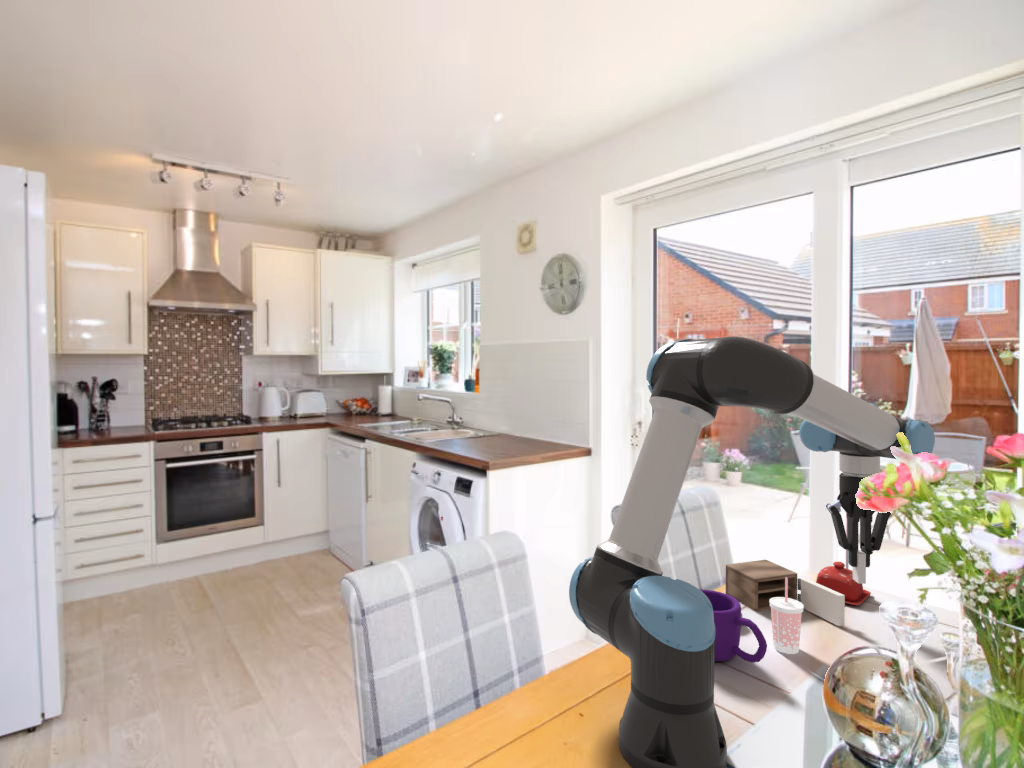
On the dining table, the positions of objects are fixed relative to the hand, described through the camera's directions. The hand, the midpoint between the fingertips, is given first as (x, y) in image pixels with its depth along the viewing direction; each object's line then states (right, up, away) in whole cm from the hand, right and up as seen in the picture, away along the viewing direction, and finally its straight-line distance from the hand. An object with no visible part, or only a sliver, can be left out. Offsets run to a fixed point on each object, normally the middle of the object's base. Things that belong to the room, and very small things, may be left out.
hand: (859, 581), depth 120 cm
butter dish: (+4, -9, +14) cm, 17 cm away
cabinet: (-16, -9, +11) cm, 22 cm away
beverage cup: (-22, -9, -12) cm, 26 cm away
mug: (-35, -9, -15) cm, 40 cm away
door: (-7, -8, +3) cm, 11 cm away
